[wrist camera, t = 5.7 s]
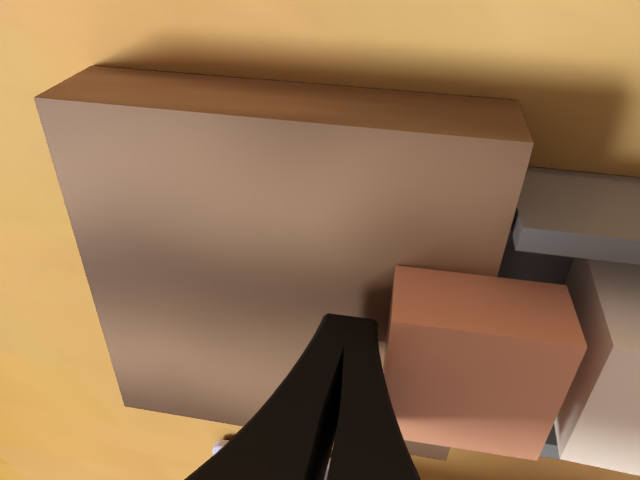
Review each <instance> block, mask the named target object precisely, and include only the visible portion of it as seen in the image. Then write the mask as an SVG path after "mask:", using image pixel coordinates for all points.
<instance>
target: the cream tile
mask: <svg viewBox="0 0 640 480" xmlns="http://www.w3.org/2000/svg"><path fill="white" fill-rule="evenodd" d="M565 285H567V288H568V291H569V294H570V297H571V300H572V303H573V306H574V309H575V311H576V314H577V317H578V320H579V323H580V326H581V329H582V332H583V335H584V338H585V341H586V343H587V346H588V348H587V350H586V352H585V354H584V357H583V359H582V361H581V363H580V366H579V368H578V370H577V372H576V375H575V377H574V379H573V381H572V384H571V386H570V388H569V390H568V393H567V395H566V397H565V399H564V402H563V404H562V406H561V408H560V411H559V413H558V415H557V417H556V420H555V422H554V425H555V432H556V438H557V445H558V451H559V458H560V459H562V460H567V461H571V462H576V463H581V464H586V465H590V466H595V467H600V468H605V469H610V470H614V471H619V472H624V473H629V474H633V475H638V476H640V265H636V264H627V263H619V262H610V261H601V260H593V259H584V258H576V257H574V260H573V263H572V265H571V268H570V271H569V274H568V276H567V279H566V282H565Z"/></svg>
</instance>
